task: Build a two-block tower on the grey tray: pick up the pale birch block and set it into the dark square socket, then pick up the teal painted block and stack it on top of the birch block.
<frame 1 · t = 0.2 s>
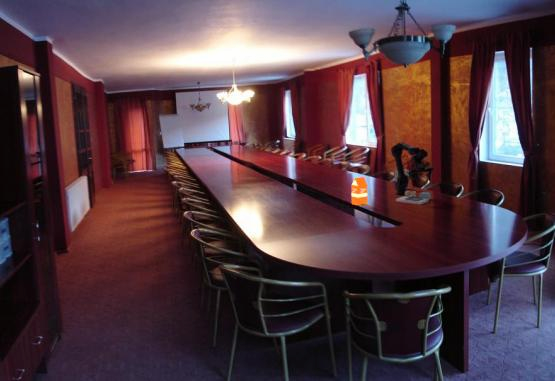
hand: (424, 181, 355), 14 cm above the table, tool tilted 30°, fingers open, 9 cm apart
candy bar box: (401, 189, 410), on the table
birch block: (410, 197, 372), on the table
teal block: (424, 199, 364), on the table
grey tray: (411, 201, 357), on the table
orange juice: (359, 204, 356), on the table
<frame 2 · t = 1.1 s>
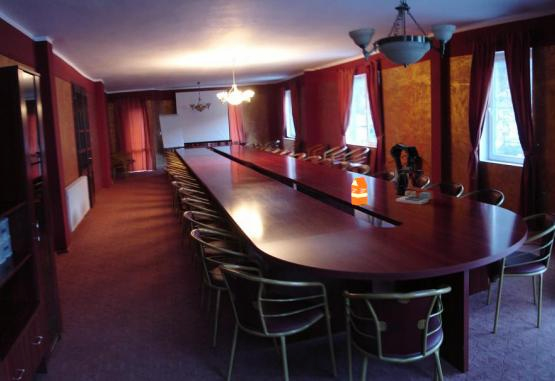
hand: (410, 182, 370), 12 cm above the table, tool pointing down, fingers open, 9 cm apart
nothing on the table moved.
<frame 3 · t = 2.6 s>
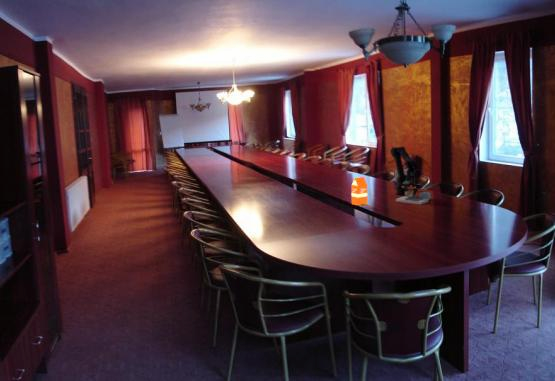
hand: (410, 196, 372), 1 cm above the table, tool pointing down, fingers closed on birch block, 6 cm apart
birch block: (410, 197, 372), on the table, touching gripper
everything else where it was.
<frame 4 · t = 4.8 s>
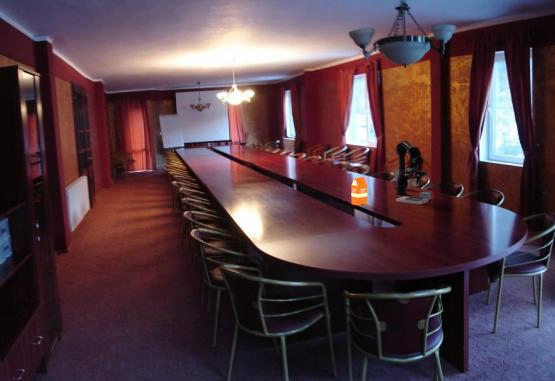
hand: (413, 184, 360), 12 cm above the table, tool pointing down, fingers closed on birch block, 6 cm apart
birch block: (413, 185, 360), point 11 cm above the table, touching gripper
everything else where it was.
when the fingers open (5 cm above the table, at t = 7.0 s): birch block drops 2 cm, resting on grey tray.
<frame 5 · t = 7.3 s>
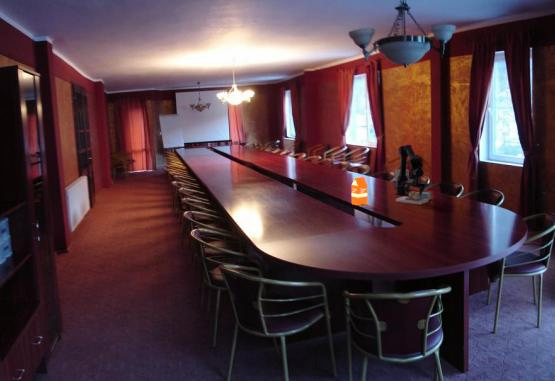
hand: (414, 195, 355), 5 cm above the table, tool pointing down, fingers open, 9 cm apart
birch block: (414, 199, 356), point 2 cm above the table, touching grey tray
everything else where it was.
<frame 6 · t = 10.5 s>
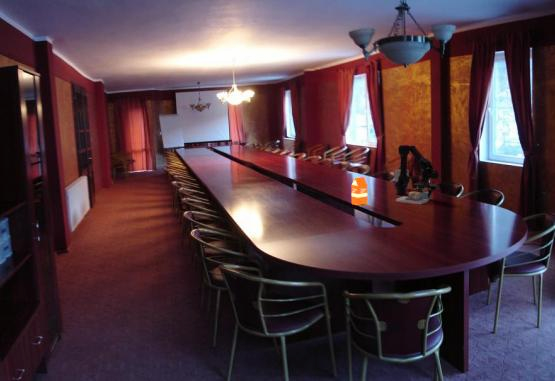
hand: (425, 197, 364), 1 cm above the table, tool pointing down, fingers closed on teal block, 6 cm apart
teal block: (424, 199, 364), on the table, touching gripper
everything else where it was.
when the fingers open (10 cm above the table, at t = 14.0 s): teal block drops 2 cm, resting on birch block.
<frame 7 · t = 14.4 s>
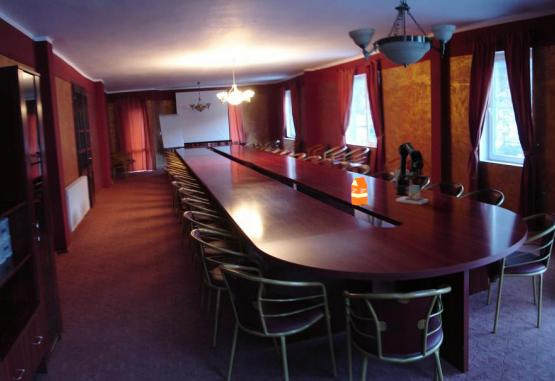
hand: (414, 188, 354), 10 cm above the table, tool pointing down, fingers open, 9 cm apart
birch block: (414, 199, 356), point 2 cm above the table, touching grey tray, teal block
teal block: (414, 192, 355), point 7 cm above the table, touching birch block
everything else where it was.
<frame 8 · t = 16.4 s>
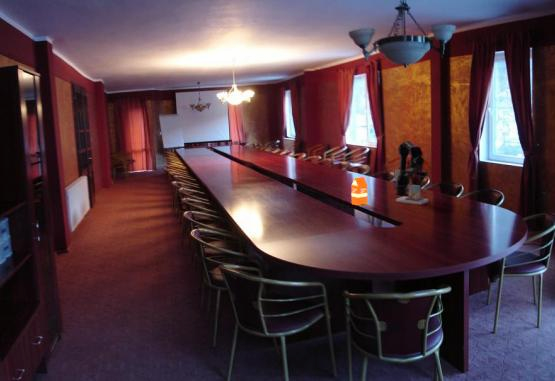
hand: (414, 184, 354), 13 cm above the table, tool pointing down, fingers open, 9 cm apart
nothing on the table moved.
at the end: birch block 0.0 cm from the target spot, point 2.1 cm above the table; teal block 0.0 cm off-centre on the birch block, point 5.0 cm above the birch block's base; teal block tilted 0° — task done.
